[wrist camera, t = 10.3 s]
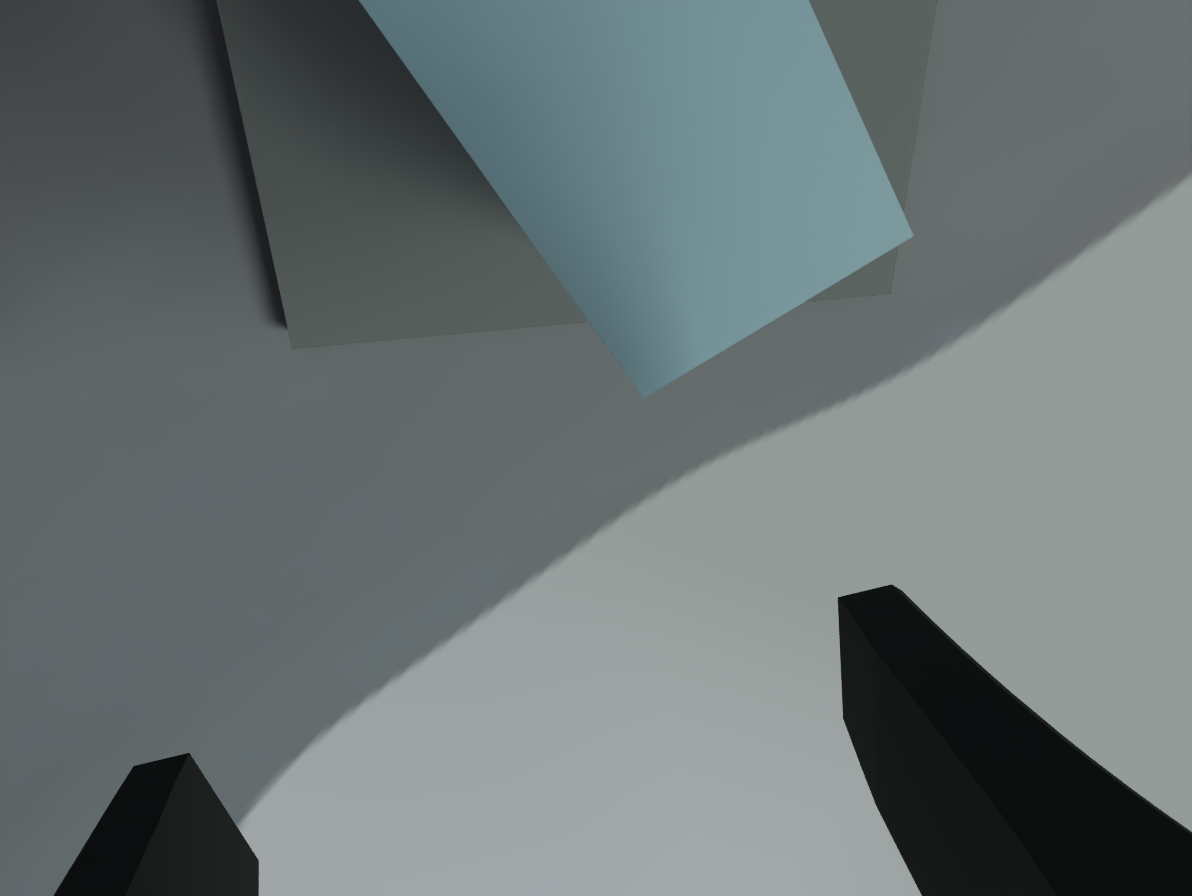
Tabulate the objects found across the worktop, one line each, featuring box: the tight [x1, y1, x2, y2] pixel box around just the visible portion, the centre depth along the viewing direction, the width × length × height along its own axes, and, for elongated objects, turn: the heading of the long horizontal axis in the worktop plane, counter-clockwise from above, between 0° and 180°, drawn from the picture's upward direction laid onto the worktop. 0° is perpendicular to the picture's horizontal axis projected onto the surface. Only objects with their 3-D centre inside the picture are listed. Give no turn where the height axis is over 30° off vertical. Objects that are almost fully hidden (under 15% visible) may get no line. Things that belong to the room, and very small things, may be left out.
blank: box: [359, 0, 913, 399], centre depth 13 cm, size 4×7×5 cm, turn 31°
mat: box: [216, 0, 937, 349], centre depth 16 cm, size 11×10×1 cm
